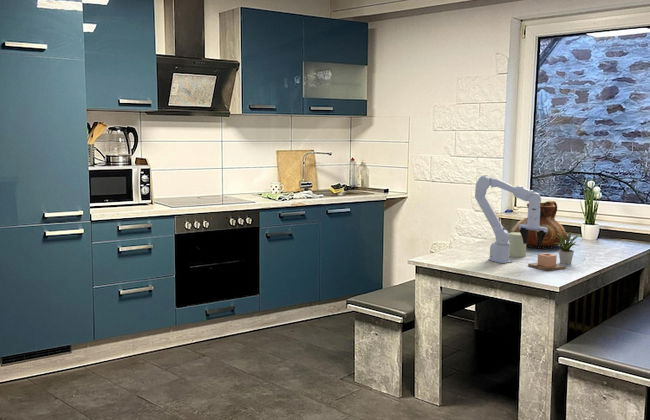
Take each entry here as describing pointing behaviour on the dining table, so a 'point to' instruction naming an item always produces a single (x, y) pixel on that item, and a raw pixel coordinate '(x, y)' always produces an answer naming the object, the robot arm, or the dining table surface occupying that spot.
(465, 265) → the dining table surface
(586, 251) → the dining table surface
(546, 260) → the open box
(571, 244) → the house plant
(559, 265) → the keeper
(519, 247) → the can
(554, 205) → the jug
